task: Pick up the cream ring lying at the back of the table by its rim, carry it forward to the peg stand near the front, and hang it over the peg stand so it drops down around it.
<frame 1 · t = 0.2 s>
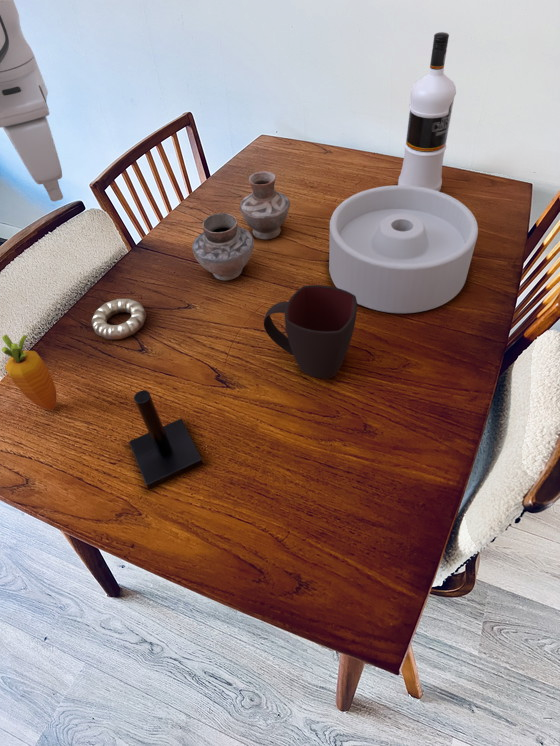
hand: (50, 184, 78), 23 cm above the table, tool pointing down, fingers open, 8 cm apart
pottery: (247, 252, 103), on the table
cup: (309, 362, 83), on the table
ring: (119, 318, 91), point 1 cm above the table
carrot: (53, 409, 80), on the table
vodka: (418, 190, 114), on the table
peg stand: (166, 454, 73), on the table
container: (396, 269, 97), on the table
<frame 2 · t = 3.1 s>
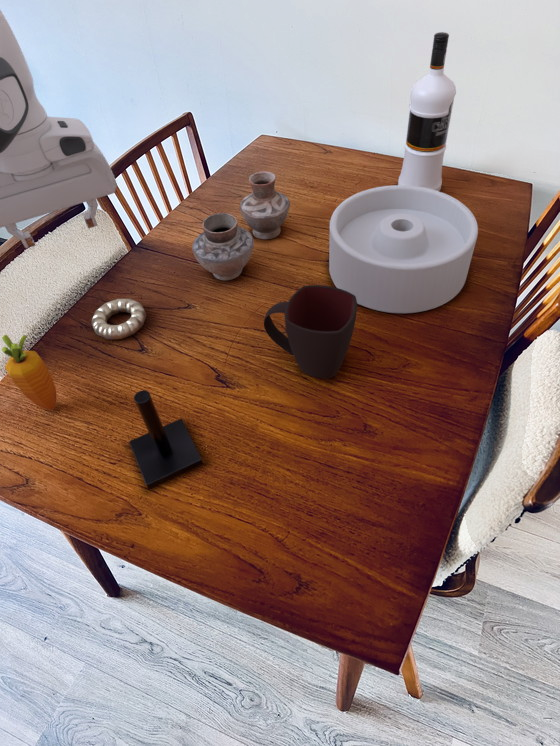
hand: (61, 235, 78), 18 cm above the table, tool pointing down, fingers open, 8 cm apart
nothing on the table moved.
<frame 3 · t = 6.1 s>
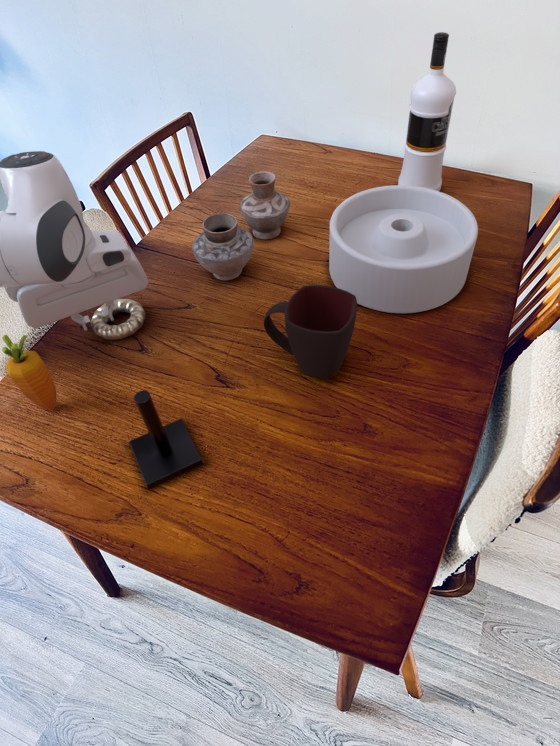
hand: (99, 323, 89), 2 cm above the table, tool pointing down, fingers closed on ring, 2 cm apart
ring: (118, 318, 91), point 1 cm above the table, touching gripper
everything else where it was.
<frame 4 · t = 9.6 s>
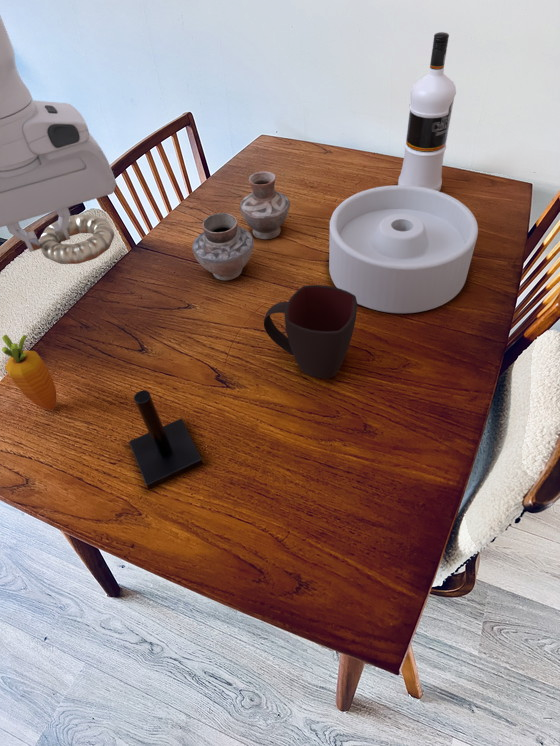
hand: (49, 243, 66), 25 cm above the table, tool pointing down, fingers closed on ring, 2 cm apart
ring: (77, 238, 67), point 24 cm above the table, touching gripper
everything else where it was.
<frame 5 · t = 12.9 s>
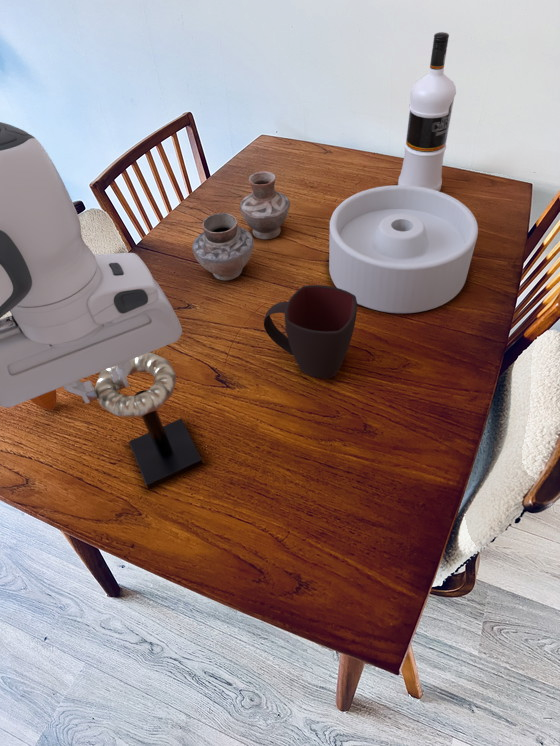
hand: (107, 391, 60), 17 cm above the table, tool pointing down, fingers closed on ring, 2 cm apart
ring: (136, 383, 61), point 16 cm above the table, touching gripper
everything else where it was.
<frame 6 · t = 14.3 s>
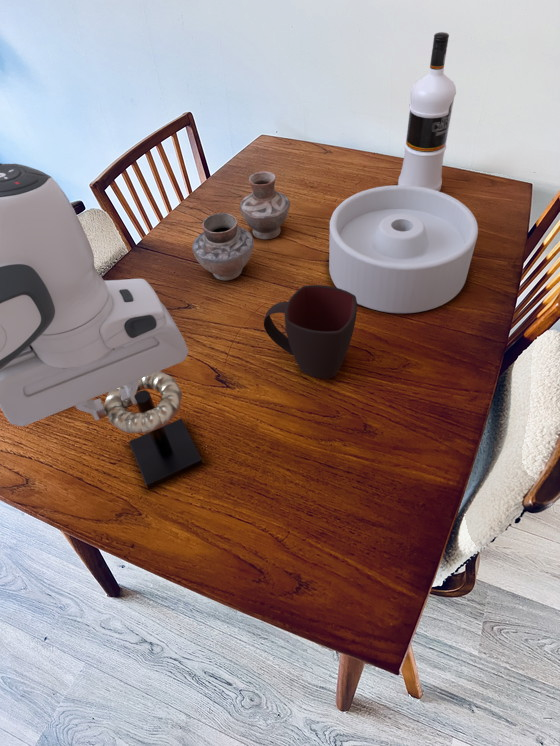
hand: (115, 408, 62), 13 cm above the table, tool pointing down, fingers closed on ring, 2 cm apart
ring: (143, 400, 63), point 13 cm above the table, touching gripper
everything else where it was.
when the fingers open (16 cm above the table, at t = 19.8 s): ring drops 13 cm, resting on peg stand.
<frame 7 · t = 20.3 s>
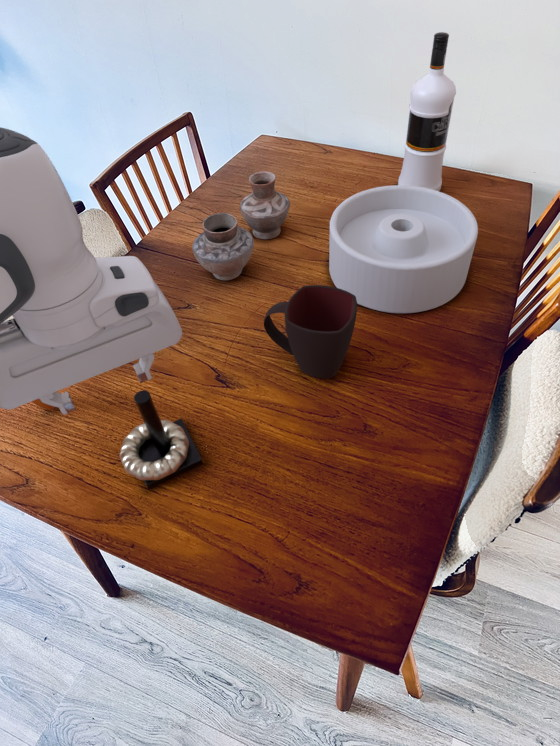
hand: (107, 392, 60), 16 cm above the table, tool pointing down, fingers open, 8 cm apart
ring: (154, 449, 71), point 2 cm above the table, touching peg stand
everything else where it was.
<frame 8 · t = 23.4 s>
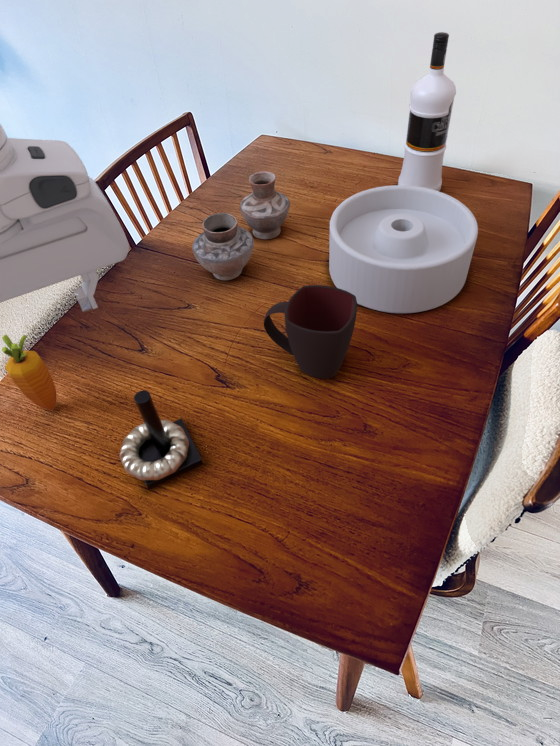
hand: (40, 324, 49), 29 cm above the table, tool pointing down, fingers open, 8 cm apart
nothing on the table moved.
at the end: ring 1.2 cm off-centre on the peg stand, point 2.4 cm above the peg stand's base; the gripper is holding nothing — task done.
